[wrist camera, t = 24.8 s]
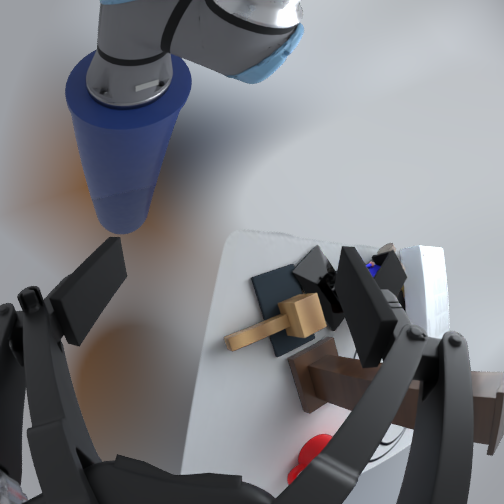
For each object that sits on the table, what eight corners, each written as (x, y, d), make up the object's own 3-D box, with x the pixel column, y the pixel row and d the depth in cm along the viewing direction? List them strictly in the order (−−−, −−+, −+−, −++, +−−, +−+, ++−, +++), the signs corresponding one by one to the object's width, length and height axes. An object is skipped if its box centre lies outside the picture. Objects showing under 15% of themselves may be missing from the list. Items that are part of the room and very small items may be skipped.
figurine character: (366, 247, 52) (332, 296, 44) (398, 236, 46) (371, 288, 37) (381, 274, 53) (351, 326, 44) (412, 266, 47) (389, 322, 38)
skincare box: (424, 251, 60) (398, 248, 51) (443, 247, 56) (422, 243, 47) (430, 335, 57) (406, 352, 48) (449, 334, 53) (429, 352, 44)
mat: (250, 277, 39) (252, 277, 39) (291, 264, 43) (293, 263, 42) (275, 356, 39) (277, 357, 38) (313, 337, 42) (315, 338, 41)
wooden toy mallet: (231, 360, 36) (244, 366, 32) (219, 325, 36) (231, 328, 32) (308, 325, 41) (326, 326, 37) (299, 294, 42) (317, 292, 38)
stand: (303, 411, 39) (484, 473, 12) (287, 357, 40) (499, 394, 12) (340, 387, 43) (512, 419, 15) (327, 336, 43) (520, 342, 16)
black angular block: (290, 272, 42) (310, 267, 38) (317, 244, 45) (336, 237, 41) (332, 331, 43) (353, 332, 39) (354, 301, 47) (374, 299, 43)
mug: (271, 462, 35) (298, 485, 28) (329, 426, 41) (361, 439, 34) (284, 489, 35) (310, 511, 28) (338, 454, 40) (367, 468, 33)
